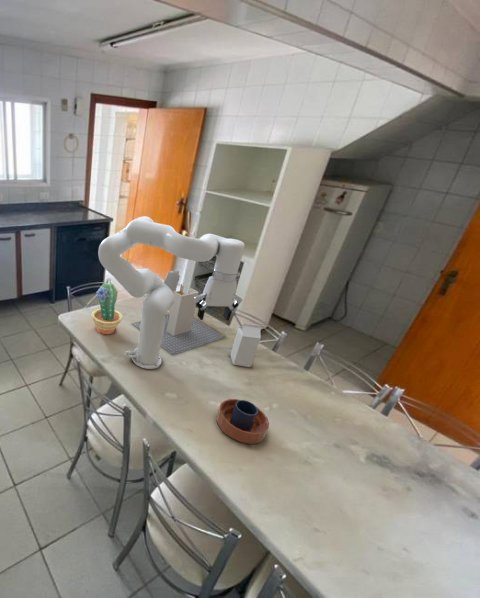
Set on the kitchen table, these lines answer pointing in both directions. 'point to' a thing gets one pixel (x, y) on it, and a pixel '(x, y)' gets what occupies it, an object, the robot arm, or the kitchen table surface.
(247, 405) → the cup
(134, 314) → the kitchen table surface
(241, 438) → the bowl
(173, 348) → the grey base with block
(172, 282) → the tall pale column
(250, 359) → the milk carton
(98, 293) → the potted cactus
